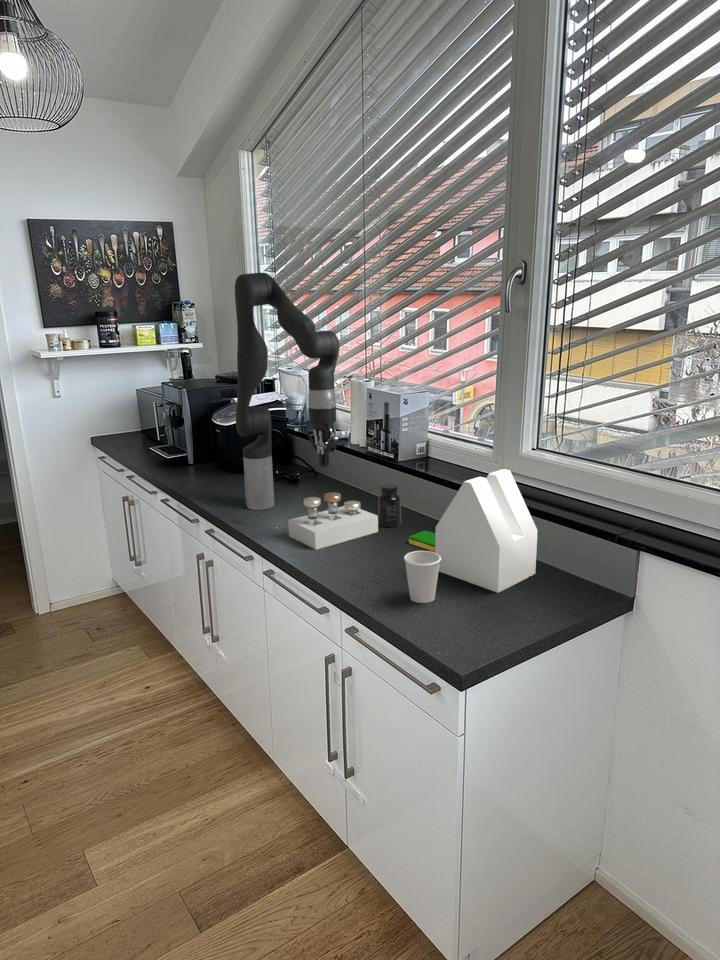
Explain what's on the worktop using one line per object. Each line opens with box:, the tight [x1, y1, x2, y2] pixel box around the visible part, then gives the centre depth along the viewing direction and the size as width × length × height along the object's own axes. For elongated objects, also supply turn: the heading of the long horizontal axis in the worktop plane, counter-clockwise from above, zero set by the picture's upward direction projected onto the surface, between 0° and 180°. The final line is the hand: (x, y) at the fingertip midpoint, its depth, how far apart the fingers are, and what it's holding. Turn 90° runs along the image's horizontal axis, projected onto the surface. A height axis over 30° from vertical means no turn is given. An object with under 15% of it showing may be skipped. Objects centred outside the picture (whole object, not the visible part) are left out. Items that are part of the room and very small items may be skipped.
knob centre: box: [323, 491, 342, 514], centre depth 194 cm, size 5×5×6 cm
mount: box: [287, 505, 379, 550], centre depth 196 cm, size 14×22×5 cm, turn 127°
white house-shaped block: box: [434, 468, 538, 594], centre depth 165 cm, size 19×15×25 cm
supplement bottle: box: [377, 483, 402, 528], centre depth 203 cm, size 7×7×12 cm
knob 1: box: [303, 496, 322, 520], centre depth 190 cm, size 5×5×6 cm
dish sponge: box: [408, 530, 436, 553], centre depth 186 cm, size 7×14×2 cm, turn 44°
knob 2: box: [343, 500, 362, 516], centre depth 200 cm, size 5×5×6 cm
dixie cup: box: [403, 550, 441, 604], centre depth 153 cm, size 8×8×10 cm
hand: (324, 466), depth 190 cm, fingers closed
